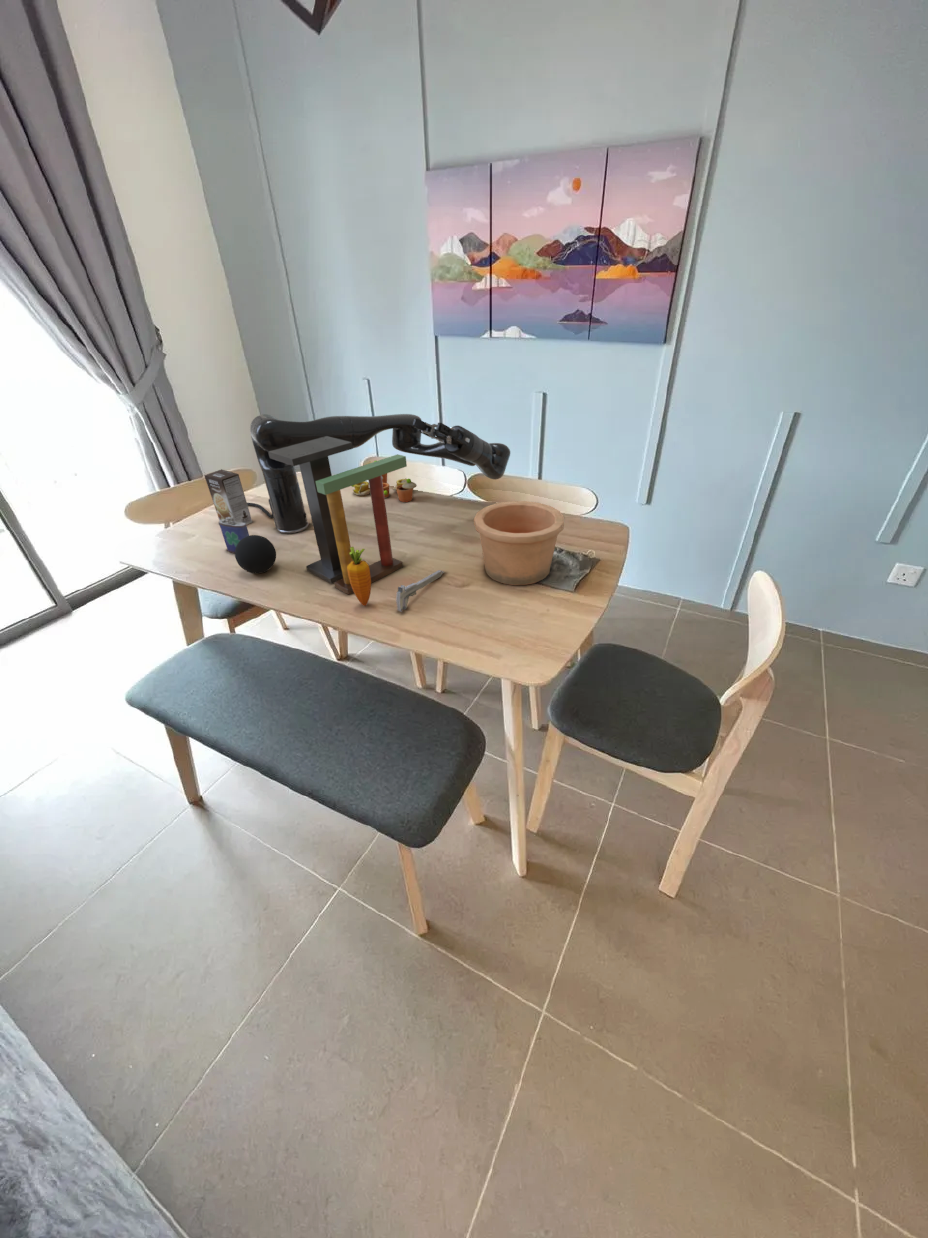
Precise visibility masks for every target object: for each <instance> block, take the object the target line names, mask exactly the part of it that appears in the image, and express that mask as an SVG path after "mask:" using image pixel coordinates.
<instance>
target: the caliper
mask: <svg viewBox="0 0 928 1238" xmlns="http://www.w3.org/2000/svg"><path fill="white" fill-rule="evenodd" d="M443 574H445V571H443V570H439V569H438V570H436V571H434V572H432V573H431V574H429V575H427V576H425V577H423V578H421V579H420V580H418V581H417V582H412V583H410V584H408V585H403V584H400V586H397V591H396V597H395V601H396V611H398V612H401V613H403V610H404V611H405V610H406V611H407V608H408V602H409V598H410V597H414V596H415V595H417V592H418V591H419V590H421V589H422V588H424V587H426V586H428V585H429V584H431V583H433V582H435V581H436V580H438V579H440V578H441V577H442V576H443Z"/></svg>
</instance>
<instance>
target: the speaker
mask: <svg viewBox="0 0 928 1238" xmlns="http://www.w3.org/2000/svg"><path fill="white" fill-rule="evenodd" d="M276 550H277V549H276V547H275V546H274V544H273V543H272V542H271V540H269V539H268V538H267V537H265V536H263V535H258V534H249V536H247V537H245V538H243V539H242V540H240V541H239V543H238V544H237V546H236V549H235V553H234V557H235V561H236V563H237V564H238V566H239V568H241V569H242V570H244V571H246V572H247V573H250V574H262V573H265V572H267V571H269V570H270V569H272V567H274V565H275V563H276V560H277V551H276Z"/></svg>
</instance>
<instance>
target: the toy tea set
mask: <svg viewBox="0 0 928 1238" xmlns="http://www.w3.org/2000/svg"><path fill="white" fill-rule="evenodd" d="M376 461H377V460H374V461H373V462H376ZM382 483H383V490H384V498H385V499H386V498H389V497H390V483H388V473H387V474H384V475H382ZM351 487H352V488H354V489H352V493H353V495H355V496H366V495H369V494H370V487H369V481H364V482H361V483H358V484H355V485H352V486H351ZM416 487H418V485H417V483H415V482H414V481H412V480H411V478H407V477H406V478H402V479H401V478H400V479H398V480H396V484H395V486H394V487H393V488H392V490H393V491H395V492H396V493H397V497H398V500H399V501H400V502H402V503H408V502H412V500H413V496H414V495H413V494H414V493H413V492H414V488H416Z"/></svg>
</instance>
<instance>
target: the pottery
mask: <svg viewBox="0 0 928 1238" xmlns="http://www.w3.org/2000/svg"><path fill="white" fill-rule="evenodd" d="M473 525H474V528H475V531H476V532H477V533H478V534H479V538H480V544H481V550H482V557H483V563H484V570H485V572H486V575H487V576H488V577H490V579H492V580H493V581H496V582H498V583H500V584H504V585H510V586H526V585H527V586H528V585H531V584H536V583H538V582H540V581H542V580H544V579H546V578H547V576H549V575H550V571H551V566H552V561H553V558H554V553H555V548H556V544H557V540H558V535H559V534H560V533H561V532H562V531H563V530H564V528H565V527H564V526H565V516H564V515H563V514H562V512H561V510H559V509H557V508H555V507H553V506H551V505H548V504H544V503H541V502H536V501H535V502H534V501H526V500H514V501H512V500H511V501H510V500H509V501H504V502H497V503H494V504H491V505H487V506H484V507H483V508H481V509H480V510H478V511H477V512H476V514H475V516H474V518H473Z"/></svg>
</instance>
